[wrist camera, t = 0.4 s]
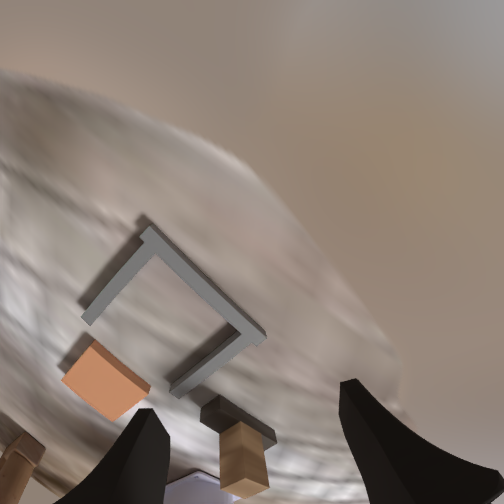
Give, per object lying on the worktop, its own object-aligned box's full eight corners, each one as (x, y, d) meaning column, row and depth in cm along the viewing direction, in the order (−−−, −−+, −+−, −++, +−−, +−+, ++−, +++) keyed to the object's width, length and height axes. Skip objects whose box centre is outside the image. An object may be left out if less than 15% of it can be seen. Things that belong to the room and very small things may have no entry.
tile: (116, 411, 23) (112, 421, 21) (67, 370, 22) (60, 380, 20) (152, 382, 22) (148, 394, 21) (97, 336, 21) (90, 346, 19)
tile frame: (184, 394, 22) (183, 402, 21) (81, 307, 20) (76, 312, 19) (265, 331, 21) (267, 338, 20) (153, 223, 19) (149, 225, 18)
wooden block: (7, 446, 24) (-35, 523, 6) (25, 429, 23) (-27, 527, 5) (25, 461, 25) (-12, 541, 7) (47, 448, 24) (3, 548, 6)
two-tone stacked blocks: (255, 441, 24) (264, 505, 17) (200, 407, 23) (195, 478, 15) (274, 429, 24) (288, 494, 17) (220, 393, 23) (220, 466, 15)
